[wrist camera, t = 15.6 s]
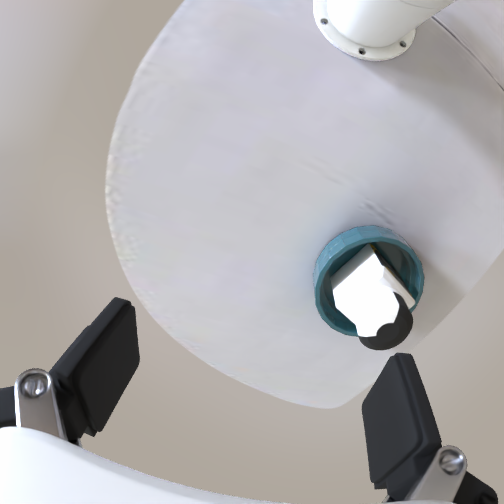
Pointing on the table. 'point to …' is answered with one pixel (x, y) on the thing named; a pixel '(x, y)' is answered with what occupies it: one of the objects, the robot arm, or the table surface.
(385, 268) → the medicine bottle
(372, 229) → the dish
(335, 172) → the table surface
